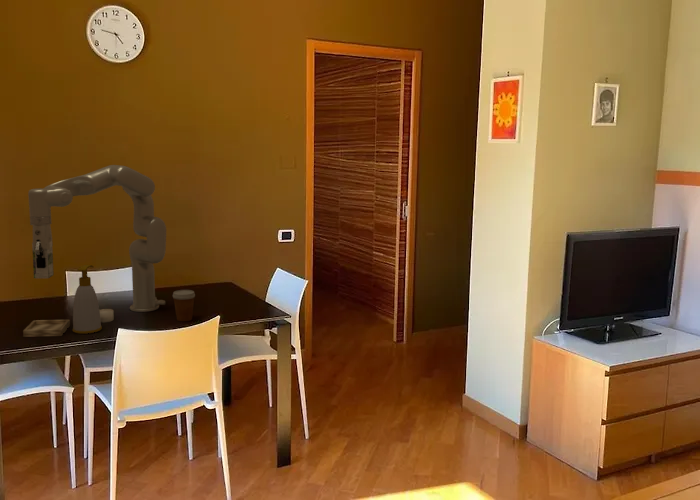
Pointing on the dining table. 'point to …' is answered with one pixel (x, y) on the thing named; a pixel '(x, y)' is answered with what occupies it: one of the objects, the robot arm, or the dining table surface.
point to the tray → (46, 328)
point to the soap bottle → (86, 306)
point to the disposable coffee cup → (184, 304)
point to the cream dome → (106, 315)
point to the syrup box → (48, 270)
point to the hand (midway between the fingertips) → (43, 265)
